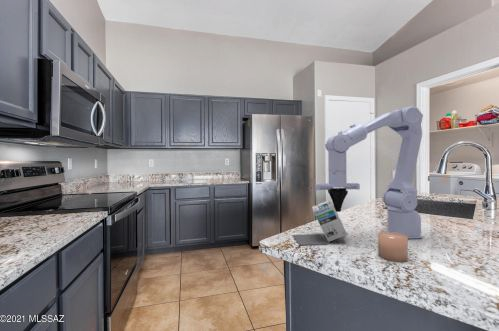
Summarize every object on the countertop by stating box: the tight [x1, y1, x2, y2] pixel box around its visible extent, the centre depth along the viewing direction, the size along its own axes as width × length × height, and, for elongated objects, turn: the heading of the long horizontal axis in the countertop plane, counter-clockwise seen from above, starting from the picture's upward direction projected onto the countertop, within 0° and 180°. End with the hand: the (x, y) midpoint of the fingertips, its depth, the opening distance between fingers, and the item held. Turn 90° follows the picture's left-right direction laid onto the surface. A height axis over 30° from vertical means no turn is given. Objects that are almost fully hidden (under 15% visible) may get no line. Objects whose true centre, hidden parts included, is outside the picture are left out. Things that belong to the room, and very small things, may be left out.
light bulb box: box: [311, 200, 348, 242], centre depth 83 cm, size 11×7×11 cm, turn 169°
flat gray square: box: [291, 233, 331, 247], centre depth 81 cm, size 10×10×1 cm
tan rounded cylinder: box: [377, 231, 409, 263], centre depth 67 cm, size 7×7×6 cm
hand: (337, 211), depth 82 cm, fingers closed
